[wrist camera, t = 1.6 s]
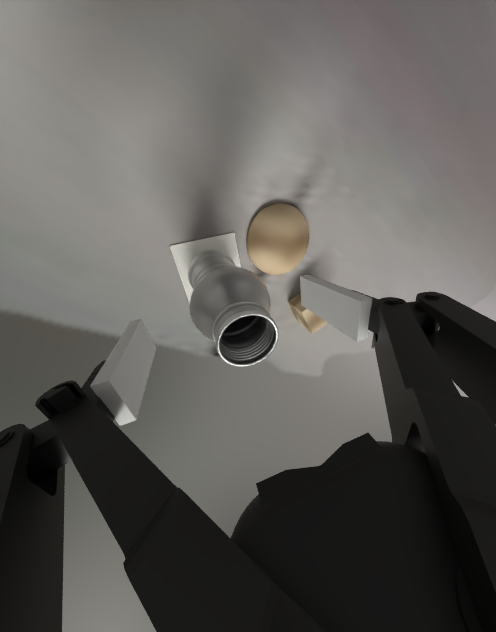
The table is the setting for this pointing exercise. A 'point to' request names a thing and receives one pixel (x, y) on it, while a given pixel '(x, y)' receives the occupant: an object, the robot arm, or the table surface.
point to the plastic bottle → (231, 309)
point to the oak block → (305, 315)
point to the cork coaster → (277, 238)
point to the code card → (191, 249)
